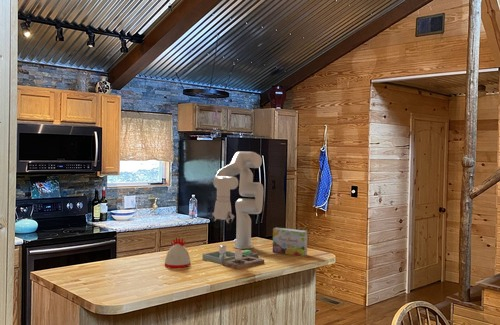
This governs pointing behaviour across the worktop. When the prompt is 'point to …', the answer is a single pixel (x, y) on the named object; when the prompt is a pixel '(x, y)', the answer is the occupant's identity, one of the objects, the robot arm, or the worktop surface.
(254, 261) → the board
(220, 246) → the billet
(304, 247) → the snack box
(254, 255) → the button console
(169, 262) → the kitchen timer
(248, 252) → the button
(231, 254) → the tote
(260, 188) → the robot arm
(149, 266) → the worktop surface
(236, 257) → the cylinder
